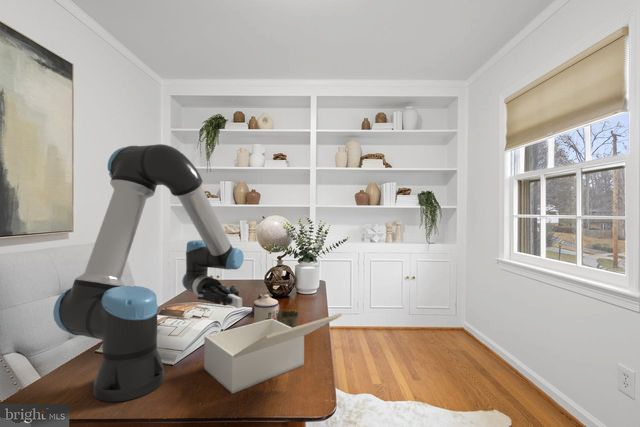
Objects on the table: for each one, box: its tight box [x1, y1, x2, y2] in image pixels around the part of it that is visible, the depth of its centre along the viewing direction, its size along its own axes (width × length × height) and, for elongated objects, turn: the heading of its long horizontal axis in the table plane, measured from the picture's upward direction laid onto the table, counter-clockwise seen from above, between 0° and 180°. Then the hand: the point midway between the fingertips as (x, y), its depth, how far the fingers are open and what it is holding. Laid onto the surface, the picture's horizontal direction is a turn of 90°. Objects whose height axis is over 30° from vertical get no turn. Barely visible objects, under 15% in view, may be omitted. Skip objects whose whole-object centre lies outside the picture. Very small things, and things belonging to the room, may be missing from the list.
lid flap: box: [233, 313, 343, 358], centre depth 80 cm, size 22×16×1 cm
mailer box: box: [203, 319, 305, 394], centre depth 92 cm, size 22×16×9 cm
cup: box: [276, 309, 299, 328], centre depth 114 cm, size 8×7×8 cm
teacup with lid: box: [253, 293, 280, 323], centre depth 125 cm, size 12×9×12 cm
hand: (239, 303), depth 99 cm, fingers closed
